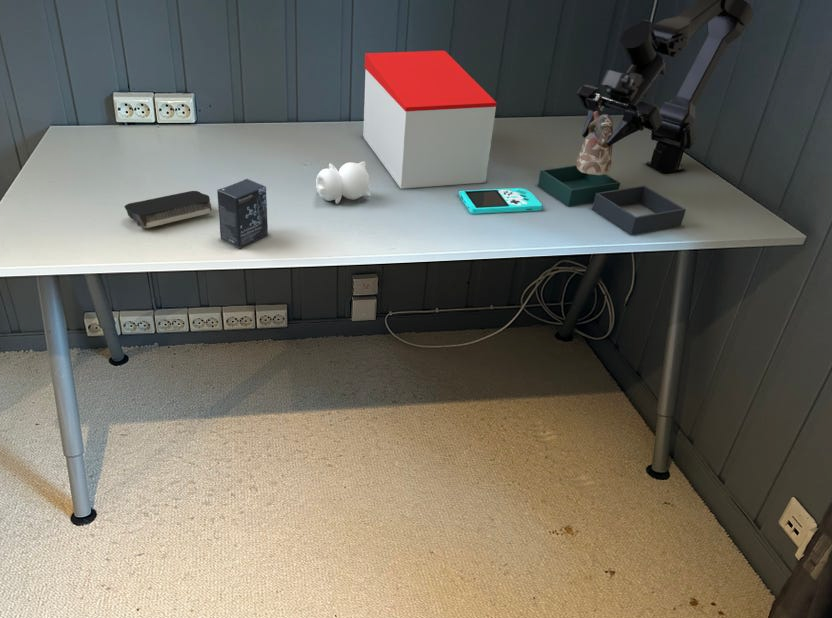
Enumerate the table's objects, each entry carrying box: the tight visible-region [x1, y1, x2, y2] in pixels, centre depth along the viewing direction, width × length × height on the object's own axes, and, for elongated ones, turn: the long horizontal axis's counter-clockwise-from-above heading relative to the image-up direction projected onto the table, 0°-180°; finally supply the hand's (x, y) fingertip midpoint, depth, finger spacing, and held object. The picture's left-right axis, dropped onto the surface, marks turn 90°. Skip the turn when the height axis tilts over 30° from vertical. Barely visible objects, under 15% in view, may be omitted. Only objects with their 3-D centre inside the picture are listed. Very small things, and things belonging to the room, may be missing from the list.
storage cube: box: [362, 50, 498, 190], centre depth 175 cm, size 21×35×21 cm, turn 14°
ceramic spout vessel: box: [576, 111, 614, 175], centre depth 157 cm, size 7×7×12 cm
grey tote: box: [591, 185, 687, 236], centre depth 155 cm, size 13×13×4 cm
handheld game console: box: [458, 187, 543, 215], centre depth 160 cm, size 10×16×1 cm, turn 99°
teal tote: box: [537, 164, 621, 207], centre depth 165 cm, size 13×12×4 cm
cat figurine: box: [315, 160, 372, 205], centre depth 160 cm, size 9×11×12 cm
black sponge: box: [123, 190, 213, 229], centre depth 150 cm, size 16×8×4 cm, turn 123°
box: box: [216, 178, 269, 249], centre depth 141 cm, size 8×6×11 cm
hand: (595, 140), depth 156 cm, fingers closed on ceramic spout vessel, 6 cm apart
